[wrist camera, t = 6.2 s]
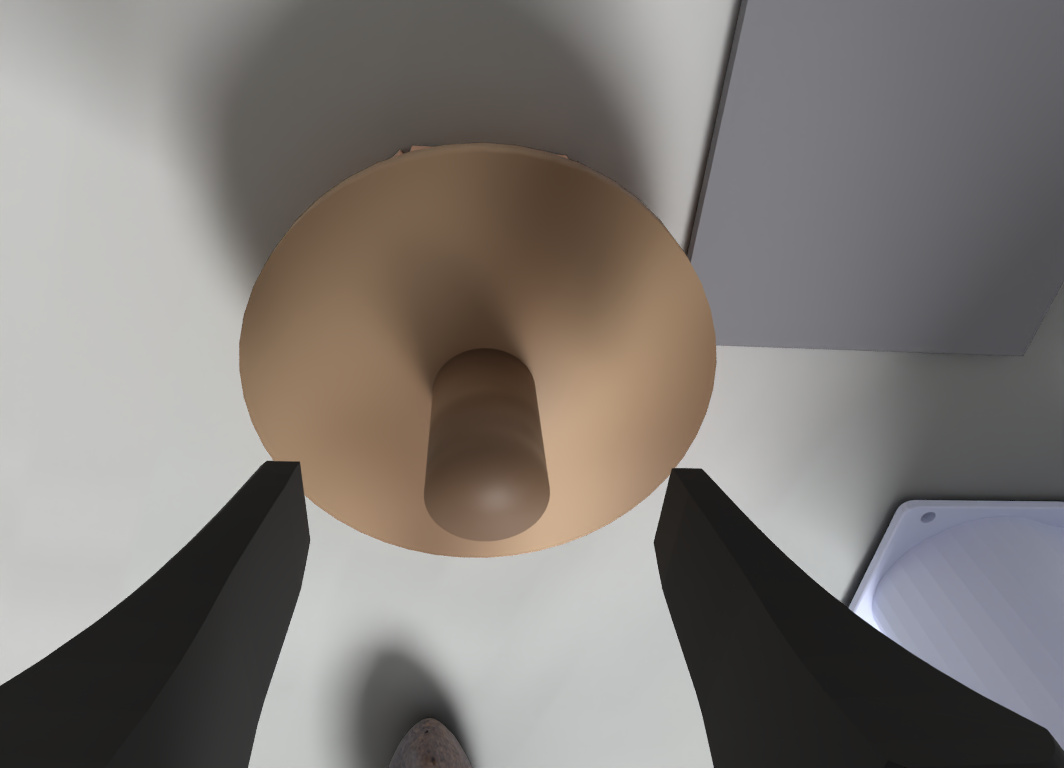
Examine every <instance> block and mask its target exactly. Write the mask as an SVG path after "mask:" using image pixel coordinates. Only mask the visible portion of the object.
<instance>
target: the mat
mask: <svg viewBox="0 0 1064 768" xmlns="http://www.w3.org/2000/svg"><path fill="white" fill-rule="evenodd" d="M687 257H688V259H689V261H690V263H691V265H692V267H693V268H694V270H695V272H696V274H697V276H698V278H699V280H700V281H701V283H702V286H703V289H704V292H705V295H706V298H707V300H708V303H709V306H710V309H711V314H712V319H713V325H714V330H715V336H716V345H720V346H748V347H777V348H805V349H833V350H862V351H890V352H918V353H947V354H975V355H1003V356H1023V355H1024V353H1025V352H1026V350H1027V348H1028V346H1029V344H1030V342H1031V340H1032V339H1033V337H1034V335H1035V333H1036V331H1037V329H1038V327H1039V326H1040V324H1041V322H1042V320H1043V318H1044V316H1045V314H1046V313H1047V311H1048V309H1049V307H1050V305H1051V303H1052V301H1053V300H1054V298H1055V296H1056V294H1057V292H1058V290H1059V288H1060V287H1061V285H1062V283H1063V281H1064V0H742V1H741V6H740V11H739V15H738V20H737V25H736V29H735V34H734V39H733V43H732V48H731V53H730V57H729V62H728V67H727V71H726V76H725V81H724V85H723V90H722V95H721V99H720V104H719V109H718V113H717V118H716V123H715V127H714V132H713V137H712V142H711V146H710V151H709V156H708V160H707V165H706V170H705V174H704V179H703V184H702V188H701V193H700V198H699V202H698V207H697V212H696V216H695V221H694V226H693V230H692V235H691V240H690V244H689V249H688V254H687Z"/></svg>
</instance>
